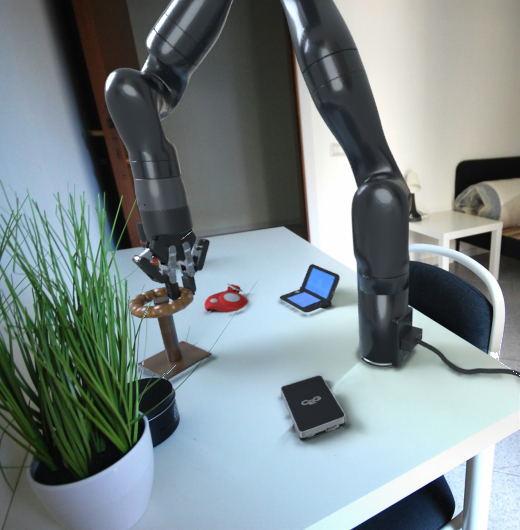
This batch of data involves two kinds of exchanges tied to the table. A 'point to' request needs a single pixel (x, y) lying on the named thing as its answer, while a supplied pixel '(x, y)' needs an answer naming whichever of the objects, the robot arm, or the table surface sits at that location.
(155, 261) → the deodorant
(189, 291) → the brown lumpy ring
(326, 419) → the external hard drive
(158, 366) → the peg
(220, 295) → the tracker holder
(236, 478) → the table surface
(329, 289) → the handheld console
